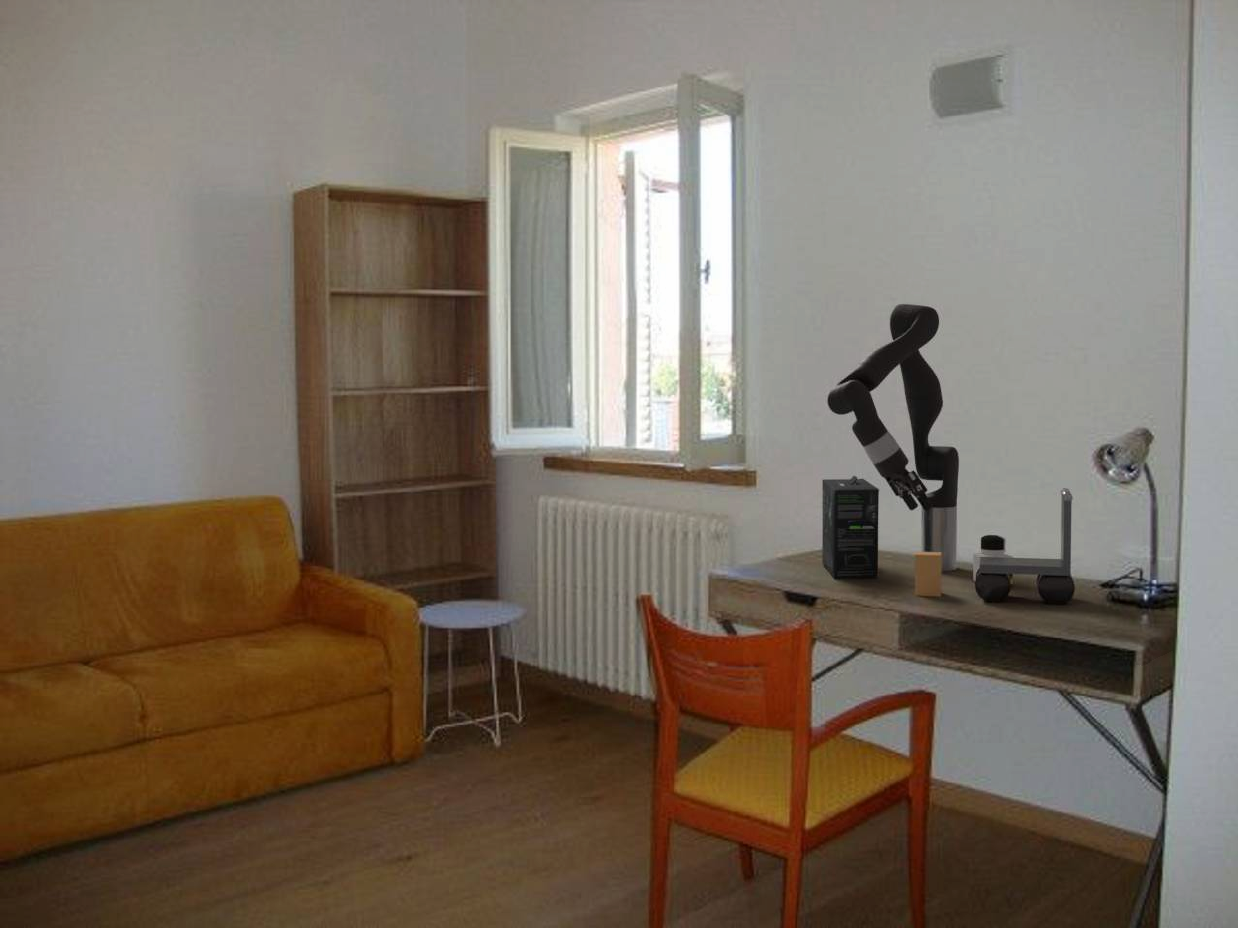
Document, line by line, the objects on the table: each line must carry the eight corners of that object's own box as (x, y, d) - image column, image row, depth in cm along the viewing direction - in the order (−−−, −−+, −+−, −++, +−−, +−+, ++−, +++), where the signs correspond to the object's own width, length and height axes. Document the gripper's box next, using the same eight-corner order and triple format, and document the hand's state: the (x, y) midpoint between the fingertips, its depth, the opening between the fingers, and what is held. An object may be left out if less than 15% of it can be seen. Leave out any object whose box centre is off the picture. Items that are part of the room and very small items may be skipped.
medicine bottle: (988, 586, 307) (988, 538, 306) (972, 581, 314) (973, 534, 313) (1013, 584, 309) (1013, 536, 308) (997, 579, 316) (997, 533, 315)
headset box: (879, 578, 320) (879, 480, 317) (833, 579, 320) (833, 481, 318) (864, 564, 342) (864, 471, 340) (821, 564, 342) (820, 472, 340)
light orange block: (916, 591, 302) (916, 551, 301) (941, 592, 300) (941, 552, 299) (915, 595, 298) (915, 554, 297) (940, 596, 296) (940, 555, 295)
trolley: (975, 592, 299) (976, 486, 297) (1071, 596, 293) (1073, 487, 290) (974, 602, 288) (975, 492, 285) (1074, 606, 281) (1076, 493, 279)
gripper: (909, 444, 289) (946, 500, 291) (885, 445, 303) (921, 499, 305) (884, 462, 288) (922, 518, 290) (862, 463, 302) (898, 516, 304)
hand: (921, 508), depth 297 cm, fingers open, 8 cm apart
